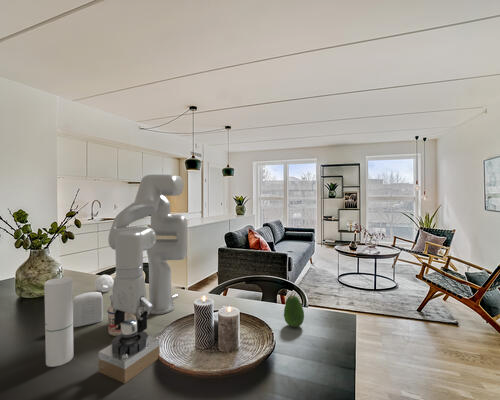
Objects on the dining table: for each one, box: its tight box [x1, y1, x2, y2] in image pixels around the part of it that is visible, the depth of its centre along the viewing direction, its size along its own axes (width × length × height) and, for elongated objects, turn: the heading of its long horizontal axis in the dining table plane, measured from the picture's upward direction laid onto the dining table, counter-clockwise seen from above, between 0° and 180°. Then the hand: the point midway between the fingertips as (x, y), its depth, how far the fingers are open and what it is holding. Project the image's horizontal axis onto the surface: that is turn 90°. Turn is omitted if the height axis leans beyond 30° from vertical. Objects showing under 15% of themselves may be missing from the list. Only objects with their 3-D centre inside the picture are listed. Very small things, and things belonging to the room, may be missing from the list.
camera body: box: [98, 330, 161, 384], centre depth 83 cm, size 13×11×8 cm
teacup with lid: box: [106, 304, 137, 337], centre depth 103 cm, size 12×9×12 cm
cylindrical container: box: [43, 276, 75, 368], centre depth 85 cm, size 7×7×25 cm
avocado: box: [283, 295, 305, 328], centre depth 106 cm, size 8×8×12 cm
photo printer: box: [73, 291, 104, 328], centre depth 109 cm, size 10×4×12 cm, turn 123°
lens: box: [121, 318, 138, 344], centre depth 83 cm, size 5×5×7 cm
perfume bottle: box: [93, 274, 114, 293], centre depth 143 cm, size 9×9×12 cm
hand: (130, 327), depth 83 cm, fingers open, 9 cm apart
